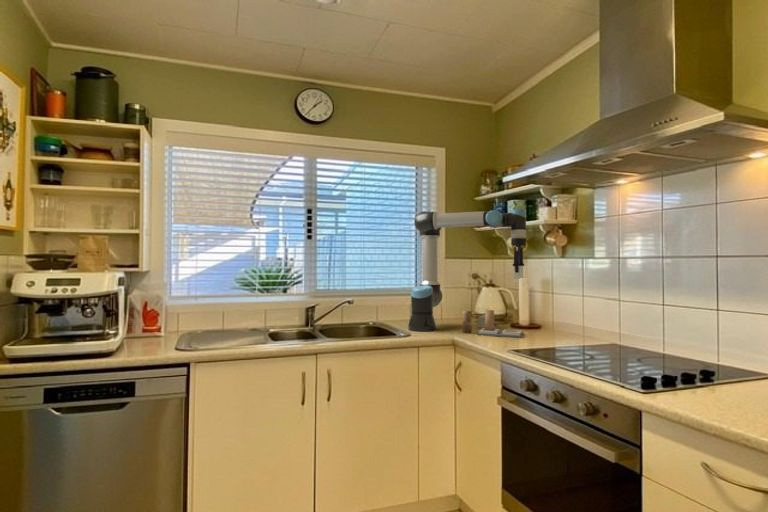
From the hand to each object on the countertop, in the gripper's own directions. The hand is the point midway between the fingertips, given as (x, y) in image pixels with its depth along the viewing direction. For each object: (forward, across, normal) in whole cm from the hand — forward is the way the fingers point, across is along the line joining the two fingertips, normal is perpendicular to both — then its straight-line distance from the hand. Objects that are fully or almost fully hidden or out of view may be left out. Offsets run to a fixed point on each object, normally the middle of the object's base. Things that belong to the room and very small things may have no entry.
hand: (518, 278), depth 231 cm
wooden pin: (+28, -14, +24) cm, 40 cm away
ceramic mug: (+28, +5, +17) cm, 33 cm away
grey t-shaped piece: (+28, -14, +7) cm, 32 cm away
